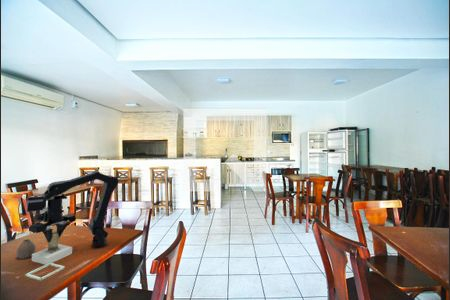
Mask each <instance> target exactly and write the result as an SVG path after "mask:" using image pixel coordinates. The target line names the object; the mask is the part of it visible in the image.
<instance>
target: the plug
mask: <svg viewBox="0 0 450 300" xmlns="http://www.w3.org/2000/svg"><path fill="white" fill-rule="evenodd" d="M59 240H60V238H59V232H58V231H57V230H56V231H52V236H51V241H50V242H47V248H48V251H54V250H57V249H58V244H59Z"/></svg>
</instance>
